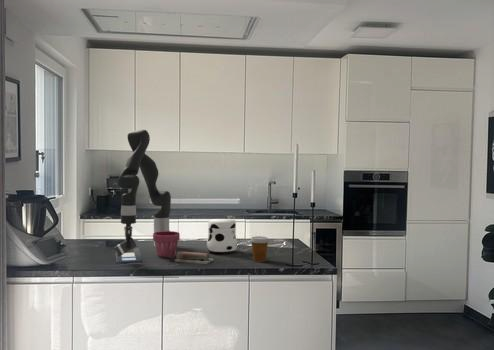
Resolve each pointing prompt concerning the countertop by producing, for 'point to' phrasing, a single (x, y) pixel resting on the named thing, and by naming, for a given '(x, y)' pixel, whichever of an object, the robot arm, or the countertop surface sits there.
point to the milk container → (221, 236)
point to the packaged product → (193, 257)
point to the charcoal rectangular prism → (124, 247)
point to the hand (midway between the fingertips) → (128, 247)
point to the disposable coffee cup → (259, 248)
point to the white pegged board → (129, 257)
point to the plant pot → (166, 243)
